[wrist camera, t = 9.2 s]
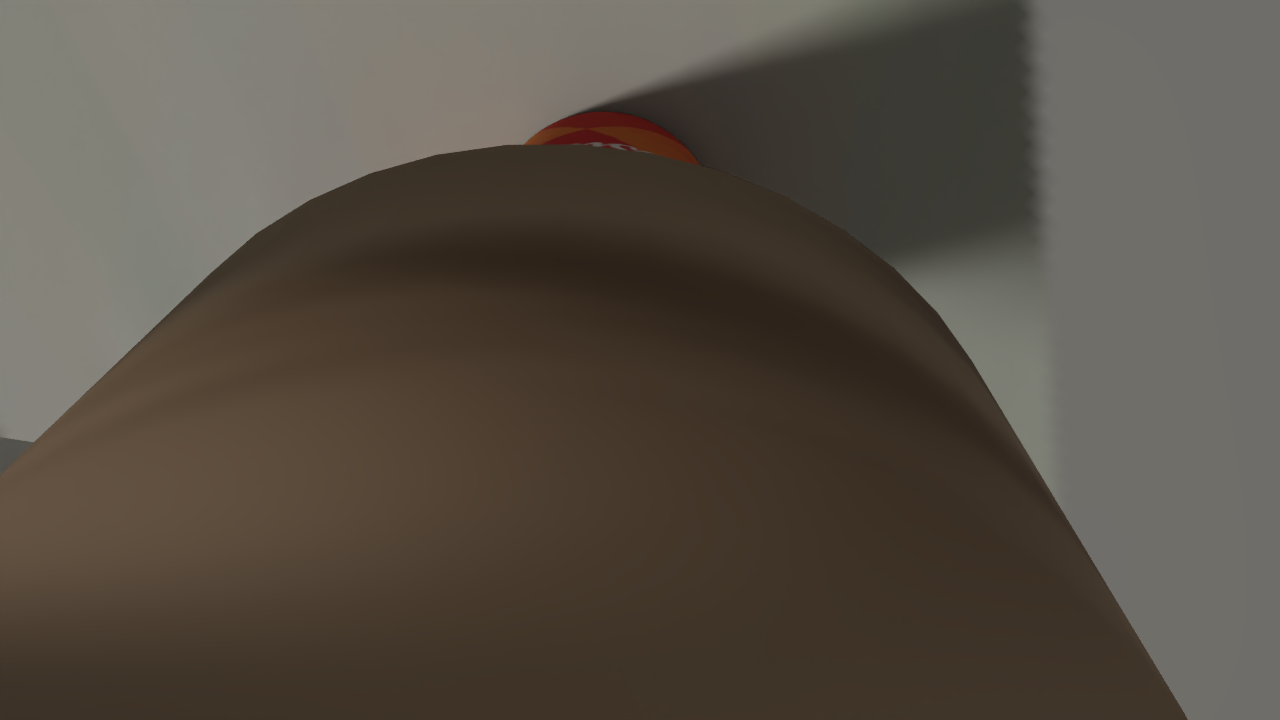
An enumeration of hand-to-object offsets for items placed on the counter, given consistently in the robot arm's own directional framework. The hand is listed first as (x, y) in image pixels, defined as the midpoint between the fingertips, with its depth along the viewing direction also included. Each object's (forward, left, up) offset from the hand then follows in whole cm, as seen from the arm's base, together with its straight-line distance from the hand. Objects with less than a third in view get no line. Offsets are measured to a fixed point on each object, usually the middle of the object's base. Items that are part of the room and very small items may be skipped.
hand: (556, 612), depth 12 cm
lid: (0, 0, 0) cm, 1 cm away
